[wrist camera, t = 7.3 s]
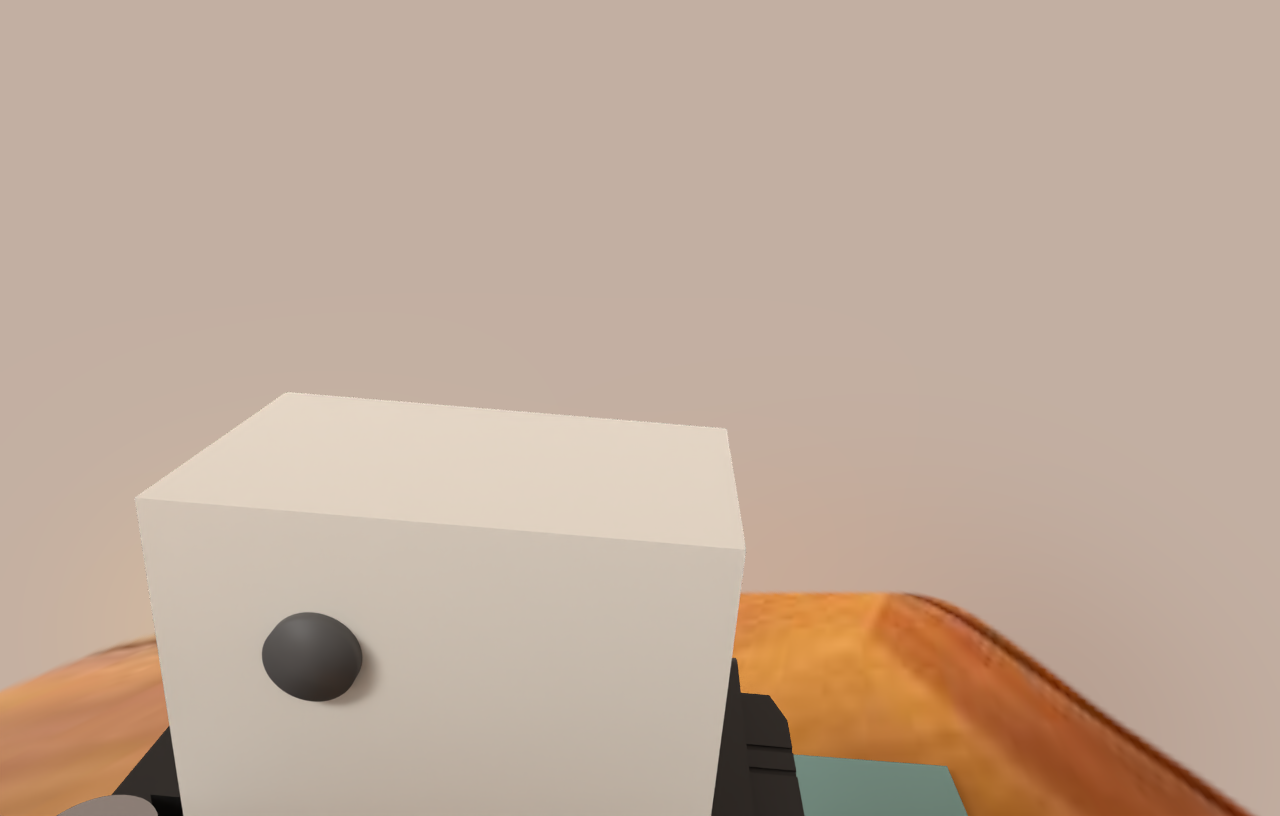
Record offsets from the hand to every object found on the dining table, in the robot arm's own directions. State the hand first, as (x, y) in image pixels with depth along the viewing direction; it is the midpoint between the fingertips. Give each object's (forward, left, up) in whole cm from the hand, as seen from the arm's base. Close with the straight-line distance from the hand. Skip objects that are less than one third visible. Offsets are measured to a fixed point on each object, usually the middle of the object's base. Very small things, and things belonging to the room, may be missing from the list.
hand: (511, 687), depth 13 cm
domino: (0, -2, -6) cm, 7 cm away
